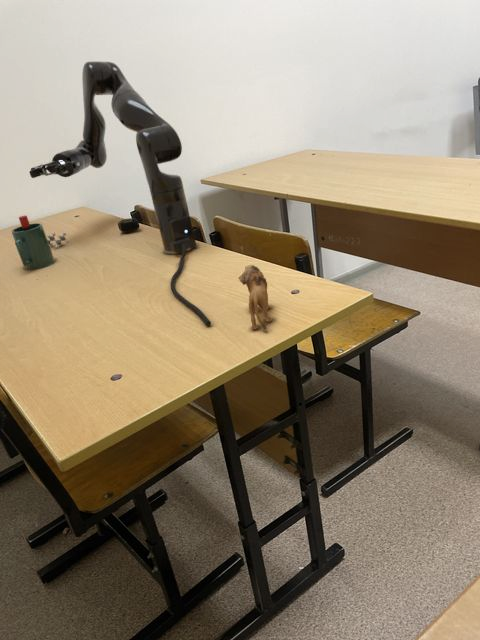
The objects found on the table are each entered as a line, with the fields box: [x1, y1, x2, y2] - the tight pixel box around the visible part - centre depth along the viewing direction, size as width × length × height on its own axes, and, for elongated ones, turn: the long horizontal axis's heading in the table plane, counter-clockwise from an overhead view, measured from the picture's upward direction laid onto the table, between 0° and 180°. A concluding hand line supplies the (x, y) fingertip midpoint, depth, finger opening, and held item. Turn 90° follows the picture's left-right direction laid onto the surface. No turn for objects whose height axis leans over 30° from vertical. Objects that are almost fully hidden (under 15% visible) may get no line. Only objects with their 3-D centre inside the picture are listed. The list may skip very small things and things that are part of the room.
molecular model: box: [46, 232, 70, 249], centre depth 176 cm, size 14×4×5 cm, turn 78°
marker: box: [18, 215, 31, 231], centre depth 158 cm, size 2×2×14 cm
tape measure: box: [117, 217, 140, 234], centre depth 180 cm, size 7×7×4 cm
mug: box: [10, 222, 55, 270], centre depth 157 cm, size 12×9×12 cm
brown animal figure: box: [238, 264, 273, 331], centre depth 103 cm, size 15×5×9 cm, turn 10°
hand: (44, 172), depth 160 cm, fingers open, 8 cm apart
